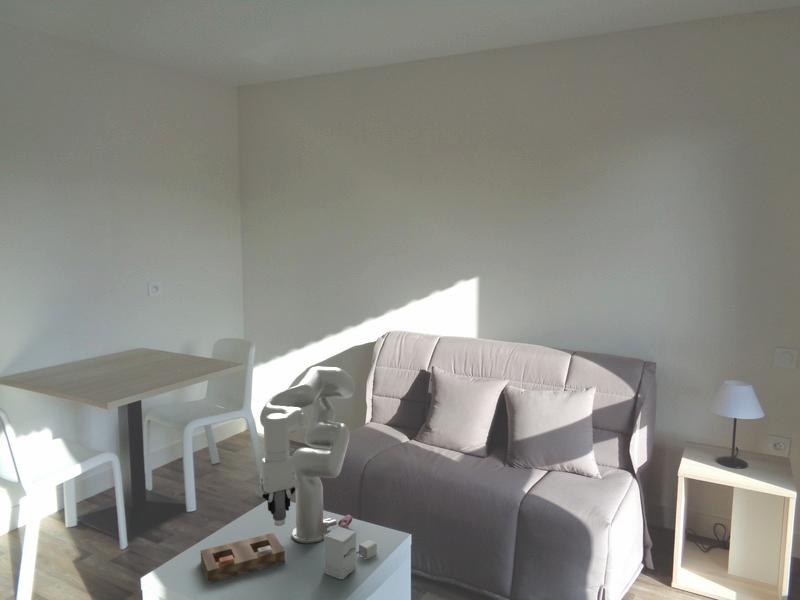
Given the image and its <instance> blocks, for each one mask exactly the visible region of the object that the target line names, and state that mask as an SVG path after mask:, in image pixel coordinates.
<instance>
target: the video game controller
mask: <svg viewBox="0 0 800 600" xmlns="http://www.w3.org/2000/svg"><path fill="white" fill-rule="evenodd" d="M353 518H354V516H352V515H350V514H346V515H345V516H344V517H342V518H341V519H340V520H339V521H338V523H337V525H338V526H339V527H342V528H345V529H348V530H350V529H349V525H350V524H351V523H352V521H353Z"/></svg>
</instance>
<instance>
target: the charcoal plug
mask: <svg viewBox="0 0 800 600" xmlns="http://www.w3.org/2000/svg"><path fill="white" fill-rule="evenodd" d="M273 501H274V514H272V519H273V520H274V522H273V523H274V524H273V525H275V526H276V527H281V526H284V525H285V524H286V519H287V511H286V499H285V490H280V491H277V492H274V493H273Z"/></svg>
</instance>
